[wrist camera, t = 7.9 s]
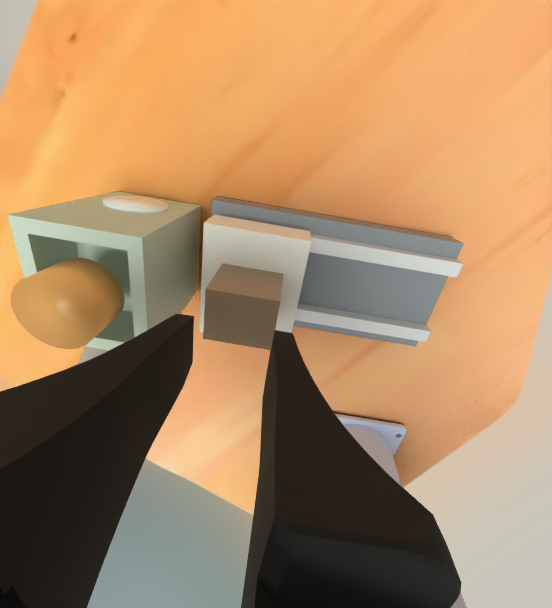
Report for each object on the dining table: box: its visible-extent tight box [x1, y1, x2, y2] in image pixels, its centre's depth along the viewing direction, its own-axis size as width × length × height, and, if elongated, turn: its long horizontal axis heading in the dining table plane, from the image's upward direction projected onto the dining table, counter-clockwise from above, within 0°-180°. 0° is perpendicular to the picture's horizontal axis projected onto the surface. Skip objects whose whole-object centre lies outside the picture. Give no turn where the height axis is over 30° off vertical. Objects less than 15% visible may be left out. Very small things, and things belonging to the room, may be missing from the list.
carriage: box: [199, 215, 311, 350], centre depth 14 cm, size 6×5×5 cm
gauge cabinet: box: [8, 191, 201, 350], centre depth 15 cm, size 6×5×8 cm
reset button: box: [11, 257, 125, 349], centre depth 11 cm, size 3×3×2 cm
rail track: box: [207, 196, 463, 346], centre depth 18 cm, size 7×14×2 cm, turn 81°
